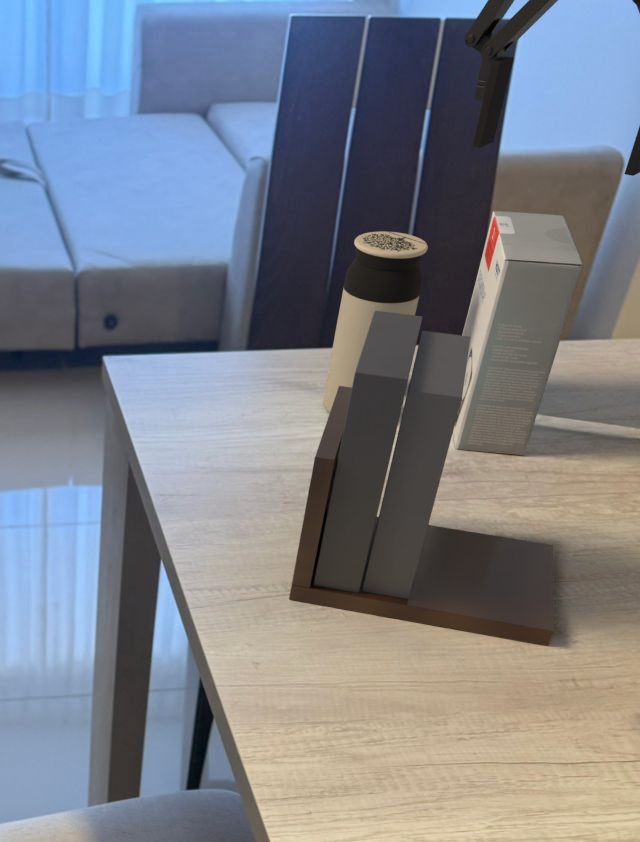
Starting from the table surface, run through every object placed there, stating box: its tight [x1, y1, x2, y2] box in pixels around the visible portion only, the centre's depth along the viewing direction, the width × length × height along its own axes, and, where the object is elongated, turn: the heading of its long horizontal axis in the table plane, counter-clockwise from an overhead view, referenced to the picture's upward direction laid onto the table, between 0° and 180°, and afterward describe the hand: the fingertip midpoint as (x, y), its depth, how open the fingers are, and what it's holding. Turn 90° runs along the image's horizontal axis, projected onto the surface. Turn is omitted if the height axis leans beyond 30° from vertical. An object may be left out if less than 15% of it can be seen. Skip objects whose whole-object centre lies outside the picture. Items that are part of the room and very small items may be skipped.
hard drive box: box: [452, 210, 584, 456], centre depth 123 cm, size 16×8×20 cm, turn 168°
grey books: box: [313, 311, 470, 599], centre depth 99 cm, size 8×14×19 cm, turn 162°
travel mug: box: [322, 231, 429, 413], centre depth 126 cm, size 8×8×18 cm
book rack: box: [288, 386, 555, 647], centre depth 101 cm, size 22×15×14 cm
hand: (556, 158), depth 100 cm, fingers open, 13 cm apart
